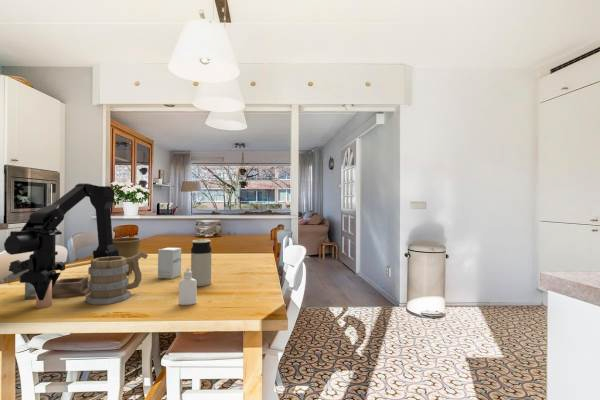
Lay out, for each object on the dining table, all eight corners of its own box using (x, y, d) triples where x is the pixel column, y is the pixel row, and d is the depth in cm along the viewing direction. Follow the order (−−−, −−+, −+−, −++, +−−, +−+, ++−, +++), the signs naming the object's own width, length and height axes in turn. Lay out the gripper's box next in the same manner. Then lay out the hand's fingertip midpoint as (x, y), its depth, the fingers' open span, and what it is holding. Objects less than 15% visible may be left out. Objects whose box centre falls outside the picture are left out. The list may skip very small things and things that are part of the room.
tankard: (94, 307, 108) (95, 260, 108) (81, 299, 116) (82, 255, 116) (155, 294, 123) (156, 253, 123) (140, 288, 131) (140, 249, 131)
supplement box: (172, 279, 146) (172, 250, 146) (157, 278, 148) (157, 249, 148) (181, 275, 153) (181, 247, 153) (167, 274, 155) (167, 247, 155)
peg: (53, 303, 111) (53, 279, 111) (48, 307, 107) (49, 282, 107) (39, 304, 109) (39, 280, 109) (33, 308, 105) (34, 283, 105)
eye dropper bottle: (184, 300, 115) (184, 265, 115) (198, 302, 114) (199, 266, 114) (176, 304, 111) (176, 268, 111) (191, 306, 109) (191, 269, 109)
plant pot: (108, 271, 160) (108, 237, 160) (142, 269, 165) (142, 237, 165) (100, 278, 146) (100, 241, 146) (137, 276, 151) (138, 240, 151)
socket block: (93, 288, 130) (93, 262, 130) (85, 295, 120) (85, 267, 120) (37, 291, 124) (37, 264, 124) (24, 299, 115) (25, 270, 115)
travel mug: (190, 287, 133) (190, 241, 133) (191, 282, 140) (191, 239, 140) (211, 286, 135) (211, 241, 135) (210, 281, 142) (211, 239, 142)
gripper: (27, 246, 114) (27, 292, 114) (-3, 255, 97) (-3, 309, 97) (65, 245, 118) (65, 290, 118) (43, 253, 100) (43, 306, 100)
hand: (44, 298), depth 108 cm, fingers closed on peg, 4 cm apart
